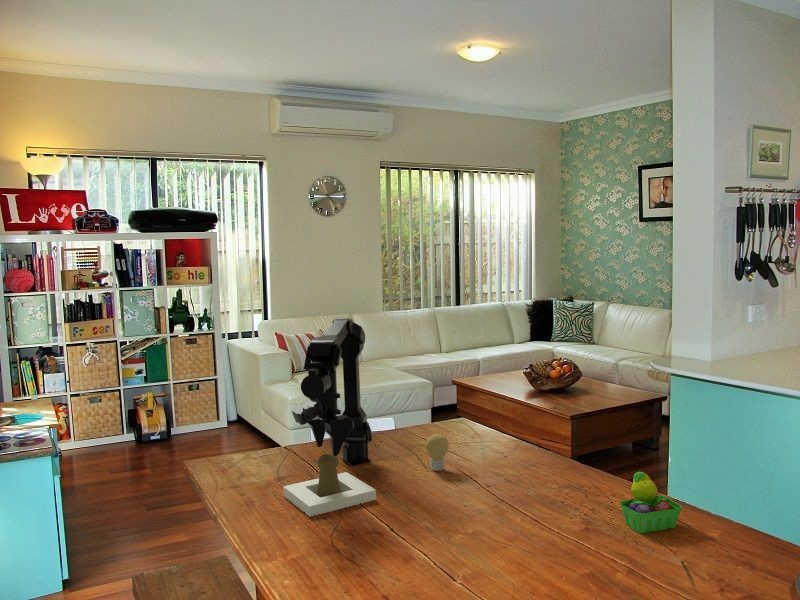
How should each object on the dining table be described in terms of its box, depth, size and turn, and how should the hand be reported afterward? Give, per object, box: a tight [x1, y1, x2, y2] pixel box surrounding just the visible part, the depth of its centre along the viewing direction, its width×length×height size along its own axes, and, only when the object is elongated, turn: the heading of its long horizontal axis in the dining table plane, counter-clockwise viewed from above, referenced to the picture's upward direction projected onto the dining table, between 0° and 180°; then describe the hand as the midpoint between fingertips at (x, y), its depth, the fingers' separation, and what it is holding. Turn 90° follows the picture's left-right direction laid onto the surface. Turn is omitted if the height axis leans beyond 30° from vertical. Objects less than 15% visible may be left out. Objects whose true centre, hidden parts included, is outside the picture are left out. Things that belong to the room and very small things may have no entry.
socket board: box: [282, 471, 377, 518], centre depth 170 cm, size 18×16×2 cm
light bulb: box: [425, 433, 450, 472], centre depth 188 cm, size 6×6×10 cm
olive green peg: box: [316, 453, 341, 498], centre depth 170 cm, size 6×6×11 cm
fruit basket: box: [619, 471, 683, 534], centre depth 149 cm, size 11×9×11 cm
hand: (327, 451), depth 169 cm, fingers open, 9 cm apart
